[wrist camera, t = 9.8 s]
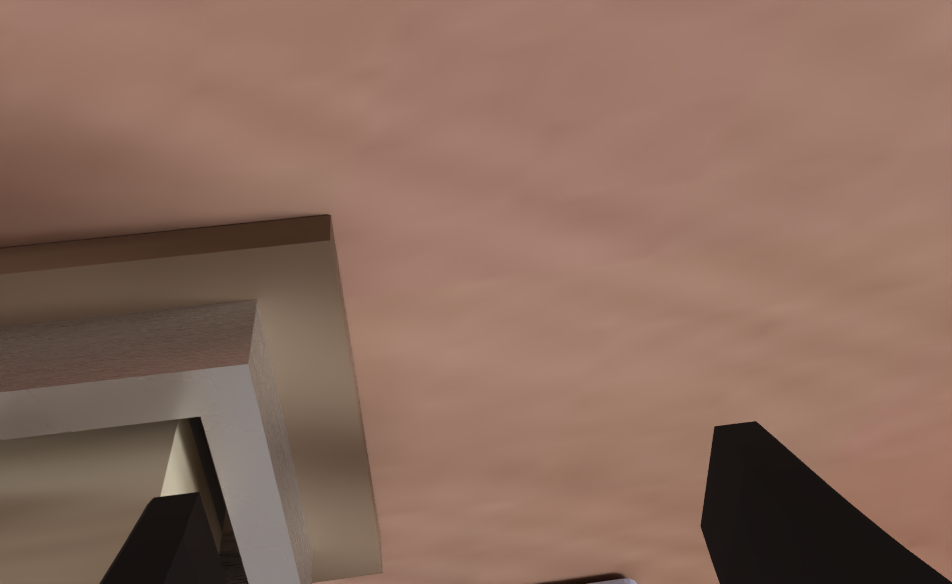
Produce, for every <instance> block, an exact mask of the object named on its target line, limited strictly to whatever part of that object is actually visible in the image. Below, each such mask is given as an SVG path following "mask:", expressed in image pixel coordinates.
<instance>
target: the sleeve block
mask: <svg viewBox="0 0 952 584" xmlns="http://www.w3.org/2000/svg"><path fill="white" fill-rule="evenodd" d="M194 492H200V496H201V499H202V502H203V505H204V509H205V512H206V515H207V518H208V522H209V525H210V528H211V531H212V535H213V538H214V541H215V544H216V548H217V551H218V554H219V552H220V545H221V538H222V531H223V525H224V518H225V511H226V509H225V505H224V502H223V498H222V495H221V491H220V488H219V484H218V481H217V478H216V474H215V471H214V467H213V464H212V460H211V457H210V453H209V450H208V446H207V443H206V439H205V436H204V432H203V429H202V425H201V422H200V418H199V417H191V418H183V419H175V420H166V421H158V422H149V423H141V424H133V425H124V426H116V427H108V428H99V429H91V430H82V431H74V432H66V433H57V434H49V435H41V436H32V437H24V438H15V439H7V440H0V584H99V583H100V582H101V580H102V578H103V577H104V575H105V574H106V572H107V570H108V569H109V567H110V566H111V564H112V562H113V561H114V559H115V558H116V556H117V554H118V553H119V551H120V549H121V548H122V546H123V544H124V543H125V541H126V539H127V538H128V536H129V534H130V533H131V531H132V529H133V528H134V526H135V524H136V523H137V521H138V519H139V517H140V516H141V514H142V512H143V511H144V509H145V507H146V506H147V504H148V503H149V502H150V501H151V500H152V499H153V498H154V497H162V496H170V495H178V494H186V493H194Z"/></svg>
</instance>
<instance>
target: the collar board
mask: <svg viewBox="0 0 952 584" xmlns="http://www.w3.org/2000/svg"><path fill="white" fill-rule="evenodd" d="M191 417H199V418H200V422H201V425H202V429H203V432H204V436H205V439H206V443H207V446H208V450H209V453H210V457H211V460H212V464H213V467H214V471H215V474H216V478H217V481H218V484H219V488H220V491H221V495H222V498H223V502H224V505H225V509H226V511H225V518H224V525H223V531H222V538H221V545H220V552H219V557H220V560H221V564H222V567H223V570H224V573H225V577H226V580H227V583H228V584H312V583H314V582H321V581H328V580H336V579H343V578H350V577H358V576H365V575H372V574H380V573H383V572H382V553H381V538H380V532H379V525H378V519H377V512H376V506H375V499H374V493H373V486H372V480H371V473H370V467H369V461H368V454H367V448H366V441H365V435H364V428H363V422H362V415H361V409H360V402H359V396H358V389H357V383H356V376H355V370H354V363H353V357H352V350H351V344H350V337H349V331H348V324H347V318H346V311H345V305H344V299H343V292H342V286H341V279H340V273H339V266H338V260H337V253H336V247H335V240H334V234H333V227H332V221H331V215H324V216H314V217H305V218H295V219H285V220H275V221H265V222H255V223H245V224H235V225H225V226H216V227H206V228H196V229H186V230H176V231H166V232H156V233H146V234H137V235H127V236H117V237H107V238H97V239H87V240H77V241H67V242H57V243H48V244H38V245H28V246H18V247H8V248H0V440H7V439H15V438H24V437H32V436H41V435H49V434H57V433H66V432H74V431H82V430H91V429H99V428H108V427H116V426H124V425H133V424H141V423H149V422H158V421H166V420H175V419H183V418H191Z"/></svg>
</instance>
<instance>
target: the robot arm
mask: <svg viewBox="0 0 952 584" xmlns="http://www.w3.org/2000/svg"><path fill="white" fill-rule="evenodd" d="M701 529H702V532H703V535H704V538H705V541H706V544H707V547H708V550H709V553H710V557H711V560H712V563H713V566H714V568H715V571H716V574H717V577H718V580H719V583H720V584H952V582H951V581H949V580H948V579H947V578H945V577H944V576H942V575H941V574H940V573H938V572H937V571H936V570H934V569H933V568H932V567H930V566H929V565H928V564H926V563H925V562H924V561H922V560H921V559H920V558H918V557H917V556H916V555H914V554H913V553H911V552H910V551H909V550H907V549H906V548H905V547H904V546H902V545H901V544H900V543H899V542H897V541H896V540H895V539H893V538H892V537H891V536H890V535H888V534H887V533H886V532H885V531H883V530H882V529H881V528H880V527H879V526H877V525H876V524H875V523H874V522H872V521H871V520H870V519H869V518H868V517H866V516H865V515H864V514H863V513H861V512H860V511H859V510H858V509H857V508H855V507H854V506H853V505H852V504H851V503H849V502H848V501H847V500H846V499H845V498H843V497H842V496H841V495H840V494H839V493H838V492H836V491H835V490H834V489H833V488H832V487H831V486H829V485H828V484H827V483H826V482H825V481H824V480H823V479H821V478H820V477H819V476H818V475H817V474H816V473H814V472H813V471H812V470H811V469H810V468H809V467H808V466H806V465H805V464H804V463H803V462H802V461H801V460H800V459H799V458H797V457H796V456H795V455H794V454H793V453H792V452H791V451H789V450H788V449H787V448H786V447H785V446H784V445H783V444H781V443H780V442H779V441H778V440H777V439H776V438H775V437H773V436H772V435H771V434H770V433H769V432H768V431H767V430H765V429H764V428H763V427H762V426H761V425H760V424H759V423H757V422H756V421H754V422H746V423H738V424H730V425H723V426H715V427H714V434H713V441H712V448H711V455H710V463H709V470H708V477H707V484H706V491H705V498H704V505H703V513H702V520H701ZM99 584H228V583H227V580H226V577H225V573H224V570H223V567H222V564H221V560H220V557H219V554H218V551H217V548H216V544H215V541H214V538H213V535H212V531H211V528H210V525H209V522H208V518H207V515H206V512H205V509H204V505H203V502H202V499H201V496H200V492H194V493H186V494H178V495H170V496H162V497H154V498H153V499H152V500H151V501H150V502H149V503H148V504H147V506H146V507H145V509H144V511H143V512H142V514H141V516H140V517H139V519H138V521H137V523H136V524H135V526H134V528H133V529H132V531H131V533H130V534H129V536H128V538H127V539H126V541H125V543H124V544H123V546H122V548H121V549H120V551H119V553H118V554H117V556H116V558H115V559H114V561H113V562H112V564H111V566H110V567H109V569H108V570H107V572H106V574H105V575H104V577H103V578H102V580H101V582H100V583H99ZM588 584H637V583H636V582H635V581H634V580H632V579H616V580H609V581H602V582H595V583H588Z"/></svg>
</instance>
